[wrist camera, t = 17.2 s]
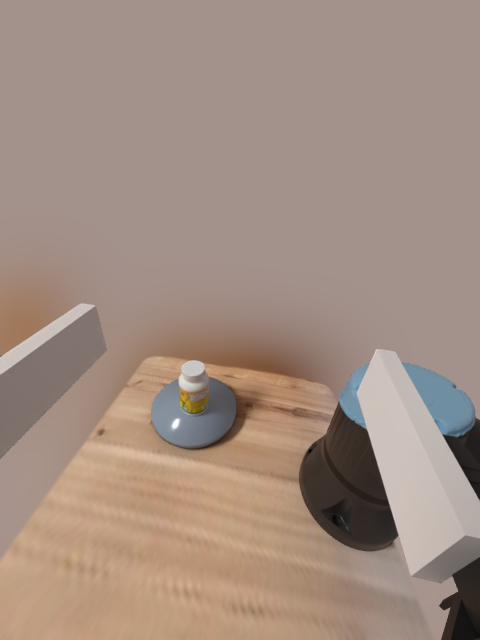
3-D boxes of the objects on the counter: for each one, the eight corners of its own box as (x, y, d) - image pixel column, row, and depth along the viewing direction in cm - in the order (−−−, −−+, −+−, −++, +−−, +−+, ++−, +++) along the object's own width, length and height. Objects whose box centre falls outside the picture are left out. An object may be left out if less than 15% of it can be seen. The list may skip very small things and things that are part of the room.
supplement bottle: (211, 413, 48) (212, 375, 43) (183, 420, 46) (180, 382, 41) (204, 391, 52) (204, 355, 47) (178, 397, 50) (175, 360, 45)
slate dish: (231, 381, 58) (232, 374, 57) (240, 448, 45) (241, 441, 44) (159, 383, 56) (158, 376, 55) (144, 454, 42) (143, 447, 41)
